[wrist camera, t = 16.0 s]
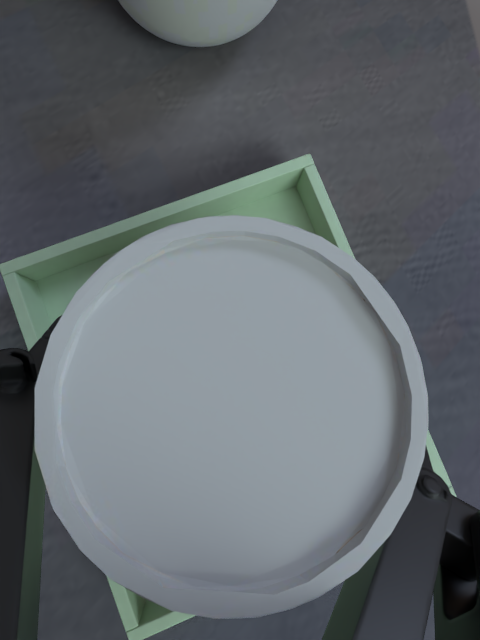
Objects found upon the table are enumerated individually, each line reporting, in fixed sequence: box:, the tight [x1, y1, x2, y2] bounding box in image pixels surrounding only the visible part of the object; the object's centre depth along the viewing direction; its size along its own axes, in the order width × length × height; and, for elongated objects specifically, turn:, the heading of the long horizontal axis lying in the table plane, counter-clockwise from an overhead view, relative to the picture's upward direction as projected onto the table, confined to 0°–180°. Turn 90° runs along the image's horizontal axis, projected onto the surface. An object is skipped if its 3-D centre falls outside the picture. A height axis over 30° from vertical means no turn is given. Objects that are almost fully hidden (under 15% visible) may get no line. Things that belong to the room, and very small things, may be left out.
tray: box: [0, 154, 456, 640], centre depth 19 cm, size 18×16×3 cm
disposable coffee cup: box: [35, 215, 428, 619], centre depth 14 cm, size 10×10×12 cm
